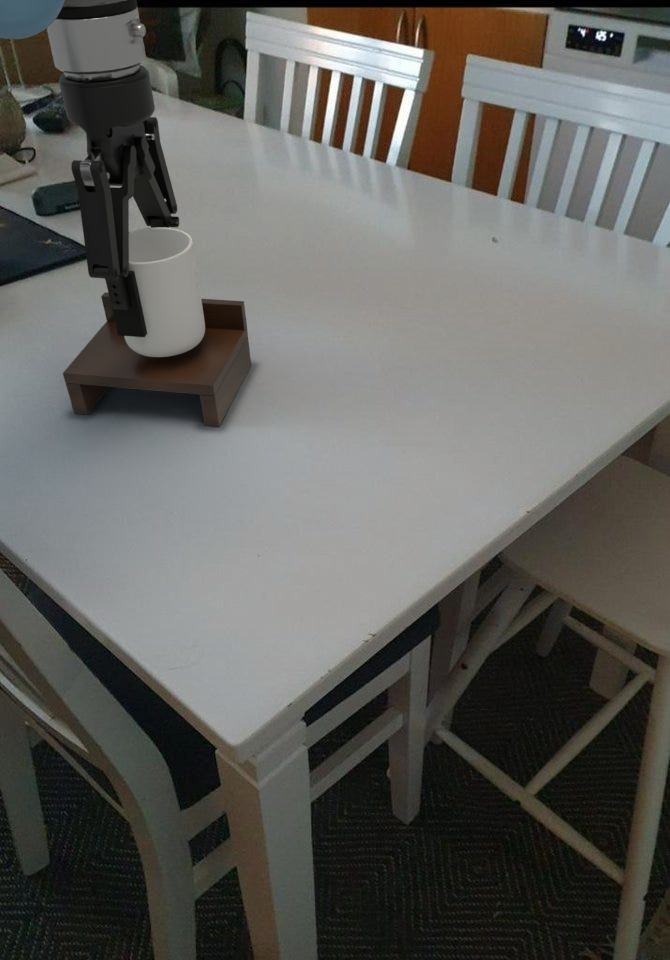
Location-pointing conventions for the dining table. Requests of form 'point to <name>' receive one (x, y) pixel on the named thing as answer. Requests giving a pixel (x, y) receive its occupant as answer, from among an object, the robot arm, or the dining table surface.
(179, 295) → the cup
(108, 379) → the shelf
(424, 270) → the dining table surface
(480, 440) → the dining table surface
